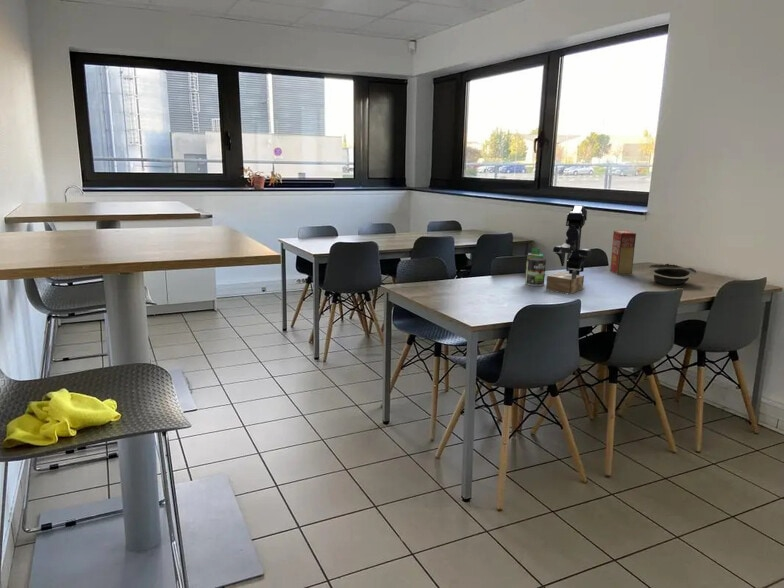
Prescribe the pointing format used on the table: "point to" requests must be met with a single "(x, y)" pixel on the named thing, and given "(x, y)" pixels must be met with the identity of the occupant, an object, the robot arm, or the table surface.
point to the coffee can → (535, 271)
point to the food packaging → (622, 252)
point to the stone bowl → (671, 274)
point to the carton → (559, 282)
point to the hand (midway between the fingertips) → (570, 267)
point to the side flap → (576, 282)
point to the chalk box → (535, 254)
